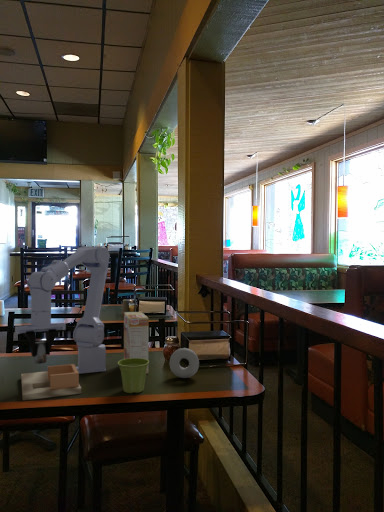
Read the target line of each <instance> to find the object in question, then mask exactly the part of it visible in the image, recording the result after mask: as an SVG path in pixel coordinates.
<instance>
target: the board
mask: <svg viewBox="0 0 384 512" xmlns="http://www.w3.org/2000/svg"><path fill="white" fill-rule="evenodd" d="M20 375H21V376H20V377H21V379H20V380H21V396H22V397H21V398H22V401H30V400H38V399H46V398H53V397H62V396H63V397H64V396H70V395H71V396H72V395H78V394H82V386H81V385H80V383H79V386H77V387H69V388H60V389H51V390H50V380H48V370H47V371H46V370H45V371H36V372H35V371H34V372H27V373H21V374H20Z"/></svg>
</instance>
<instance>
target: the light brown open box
mask: <svg viewBox="0 0 384 512" xmlns="http://www.w3.org/2000/svg"><path fill="white" fill-rule="evenodd" d="M76 367H77V366H76V365H75V363H68V364H60V365H59V364H57V365H48V366H47V371H48V380H50V390H51V389H60V388H69V387H77V386H79V384H80V383H79V381H80V374H79V372H78V370H77V369H76Z"/></svg>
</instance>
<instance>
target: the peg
mask: <svg viewBox="0 0 384 512" xmlns="http://www.w3.org/2000/svg"><path fill="white" fill-rule="evenodd" d="M35 351H36V355H35V357H33V363H34V364H35V365H37V364H46V363H47V362H48V360H47V359H48V358H47V357H48V355H47V342H46V341H45V340H44V341H43V340H42V341H41V340H40V341H36V342H35Z"/></svg>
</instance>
